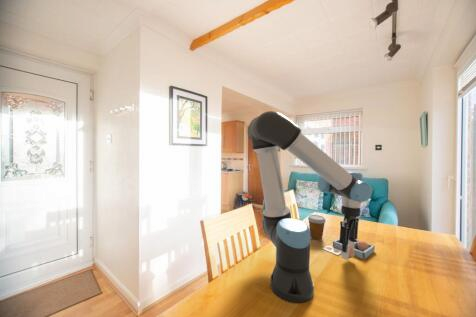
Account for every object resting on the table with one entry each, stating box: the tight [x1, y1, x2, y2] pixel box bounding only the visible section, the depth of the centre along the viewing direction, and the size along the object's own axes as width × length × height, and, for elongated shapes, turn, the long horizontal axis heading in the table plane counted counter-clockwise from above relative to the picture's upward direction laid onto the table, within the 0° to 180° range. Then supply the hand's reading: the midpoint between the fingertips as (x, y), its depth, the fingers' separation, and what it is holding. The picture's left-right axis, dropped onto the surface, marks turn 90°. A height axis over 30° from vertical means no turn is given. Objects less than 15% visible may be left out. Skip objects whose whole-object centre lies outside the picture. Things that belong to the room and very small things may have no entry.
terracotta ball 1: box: [348, 247, 355, 259], centre depth 91 cm, size 5×5×5 cm
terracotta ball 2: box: [357, 240, 369, 252], centre depth 102 cm, size 5×5×5 cm
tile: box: [321, 245, 342, 256], centre depth 101 cm, size 6×8×1 cm
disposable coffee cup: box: [307, 214, 326, 241], centre depth 116 cm, size 10×10×12 cm
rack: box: [332, 237, 375, 260], centre depth 103 cm, size 13×15×3 cm
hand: (347, 256), depth 91 cm, fingers closed on terracotta ball 1, 5 cm apart
